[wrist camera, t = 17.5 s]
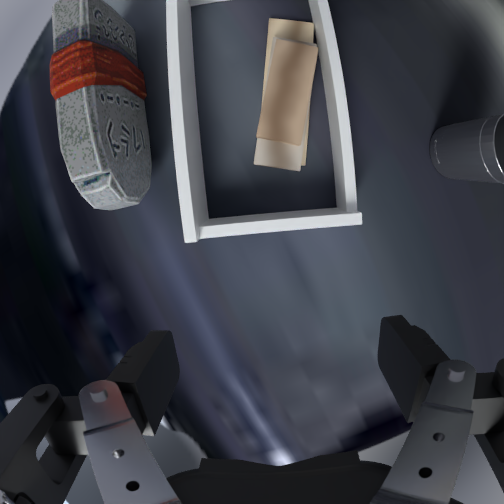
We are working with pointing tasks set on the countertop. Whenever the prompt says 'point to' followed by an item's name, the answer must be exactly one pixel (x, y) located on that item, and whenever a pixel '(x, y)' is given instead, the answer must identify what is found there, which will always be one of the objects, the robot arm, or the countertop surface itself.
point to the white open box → (190, 144)
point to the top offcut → (287, 92)
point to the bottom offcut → (293, 32)
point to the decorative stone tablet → (100, 103)
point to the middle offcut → (277, 151)
